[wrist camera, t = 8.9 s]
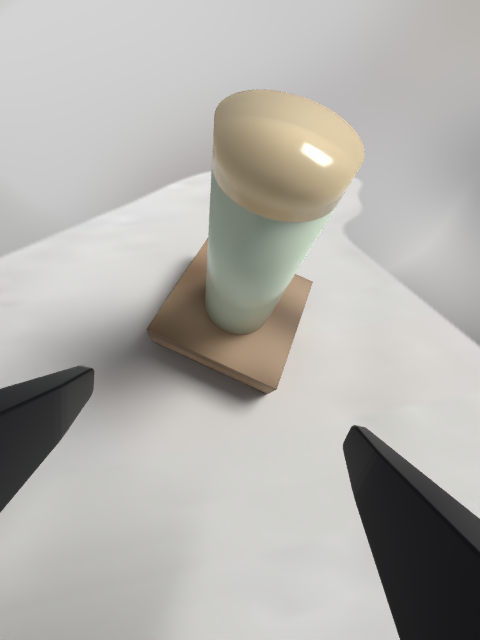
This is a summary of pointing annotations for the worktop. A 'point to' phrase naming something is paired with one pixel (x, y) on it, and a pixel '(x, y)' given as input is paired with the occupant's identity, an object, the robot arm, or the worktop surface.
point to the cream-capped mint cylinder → (270, 198)
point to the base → (223, 347)
